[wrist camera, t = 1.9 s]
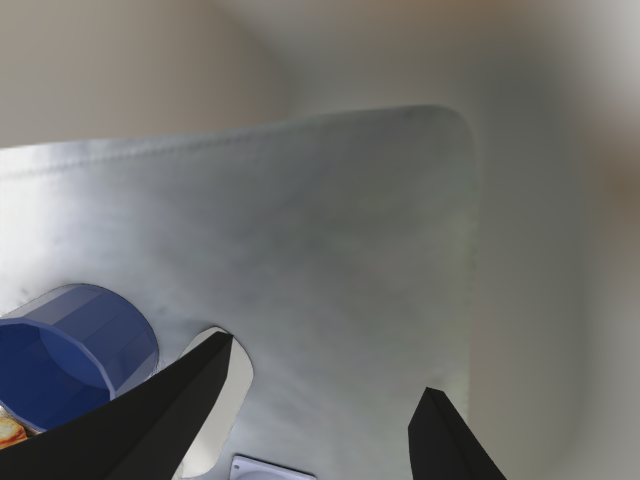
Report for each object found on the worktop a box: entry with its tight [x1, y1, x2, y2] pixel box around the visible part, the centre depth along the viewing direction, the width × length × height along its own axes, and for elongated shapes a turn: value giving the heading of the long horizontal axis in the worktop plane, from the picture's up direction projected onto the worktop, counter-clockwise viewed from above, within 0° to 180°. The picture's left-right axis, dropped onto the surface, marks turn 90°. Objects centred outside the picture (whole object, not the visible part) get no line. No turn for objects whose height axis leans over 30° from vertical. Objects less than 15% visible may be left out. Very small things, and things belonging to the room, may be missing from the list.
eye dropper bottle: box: [171, 327, 254, 480], centre depth 19 cm, size 4×6×12 cm
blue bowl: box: [0, 284, 158, 433], centre depth 23 cm, size 10×10×5 cm
